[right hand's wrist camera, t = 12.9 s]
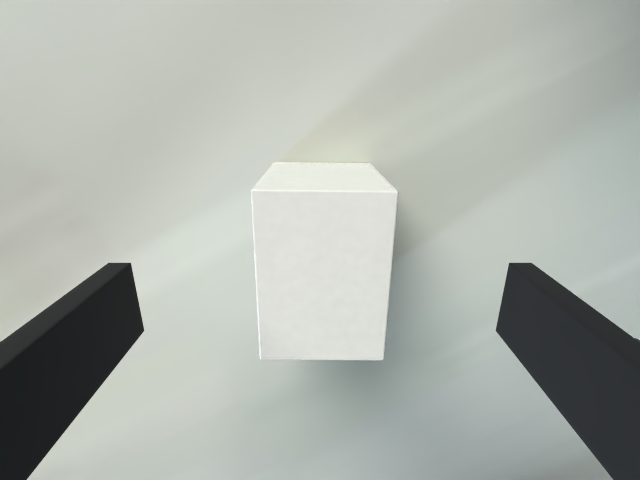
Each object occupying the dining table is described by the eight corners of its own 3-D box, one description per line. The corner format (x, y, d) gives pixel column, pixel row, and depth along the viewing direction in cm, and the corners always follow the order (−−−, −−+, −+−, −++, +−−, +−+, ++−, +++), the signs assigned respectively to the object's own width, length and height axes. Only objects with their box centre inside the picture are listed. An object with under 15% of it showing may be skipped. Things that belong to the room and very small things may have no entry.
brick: (277, 283, 25) (259, 360, 17) (273, 161, 22) (250, 189, 14) (363, 283, 25) (384, 361, 17) (370, 162, 22) (399, 191, 14)
